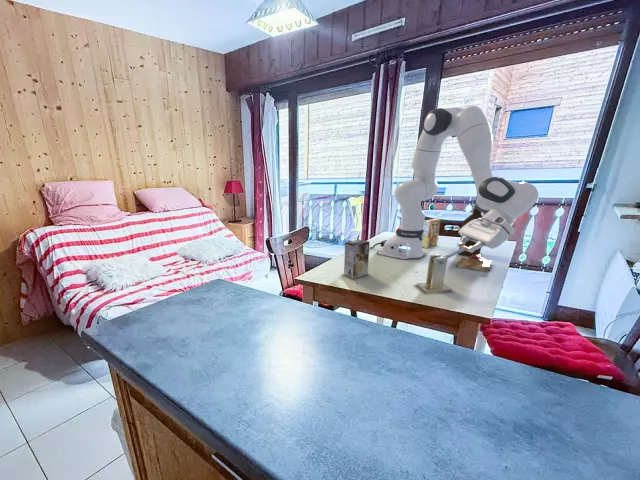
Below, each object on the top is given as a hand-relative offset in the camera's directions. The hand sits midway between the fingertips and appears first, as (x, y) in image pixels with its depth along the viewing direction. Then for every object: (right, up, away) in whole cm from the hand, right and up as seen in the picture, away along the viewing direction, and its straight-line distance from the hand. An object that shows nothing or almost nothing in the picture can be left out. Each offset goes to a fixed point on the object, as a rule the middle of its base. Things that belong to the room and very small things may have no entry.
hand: (464, 248), depth 127 cm
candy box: (+20, +9, +62) cm, 66 cm away
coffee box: (-35, -10, +26) cm, 44 cm away
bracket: (-8, -16, +6) cm, 19 cm away
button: (+22, -2, +26) cm, 35 cm away
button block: (+23, -5, +28) cm, 36 cm away
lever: (-4, -3, +1) cm, 5 cm away
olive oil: (+31, +2, +45) cm, 55 cm away
